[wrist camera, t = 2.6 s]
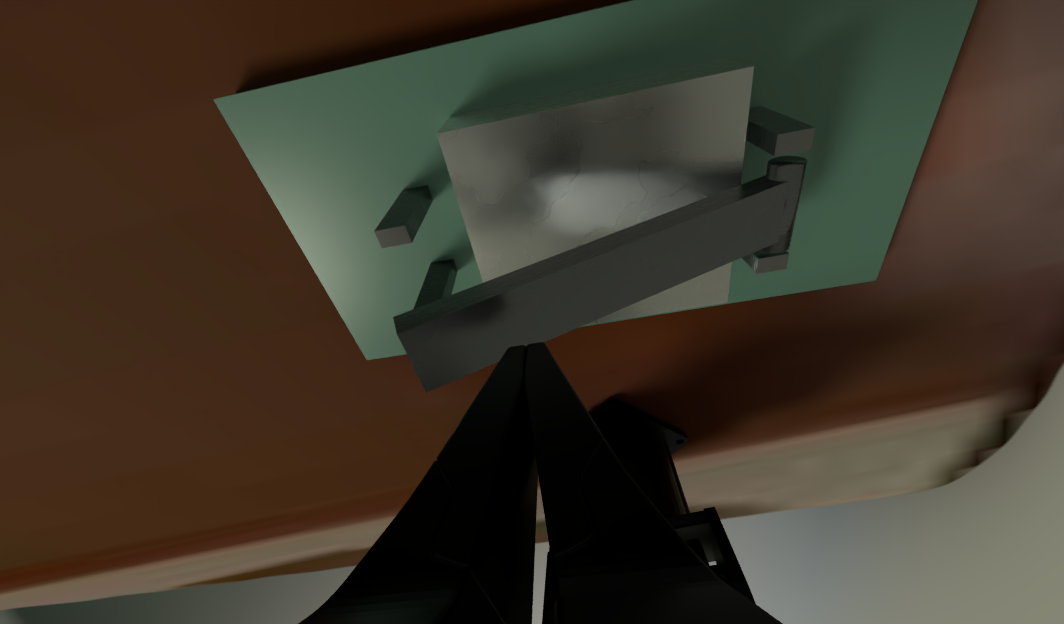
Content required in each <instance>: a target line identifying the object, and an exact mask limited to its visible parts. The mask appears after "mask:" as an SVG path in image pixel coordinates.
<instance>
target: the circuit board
mask: <svg viewBox="0 0 1064 624" xmlns="http://www.w3.org/2000/svg"><path fill="white" fill-rule="evenodd" d="M977 2H978V0H629V1H625V2H621V3H616V4H612V5H608V6H604V7H599V8H595V9H591V10H587V11H582V12H578V13H574V14H570V15H565V16H561V17H557V18H553V19H549V20H544V21H540V22H536V23H532V24H527V25H523V26H519V27H515V28H510V29H506V30H502V31H498V32H493V33H489V34H485V35H481V36H477V37H472V38H468V39H464V40H460V41H455V42H451V43H447V44H443V45H438V46H434V47H430V48H426V49H421V50H417V51H413V52H409V53H405V54H400V55H396V56H392V57H388V58H383V59H379V60H375V61H371V62H366V63H362V64H358V65H354V66H349V67H345V68H341V69H337V70H332V71H328V72H324V73H320V74H316V75H311V76H307V77H303V78H299V79H294V80H290V81H286V82H282V83H277V84H273V85H269V86H265V87H260V88H256V89H252V90H248V91H244V92H239V93H235V94H231V95H228V96H224V97H221V98H217V99H213V100H214V102H215V103H216V105H217V107H218V108H219V110H220V112H221V113H222V115H223V117H224V118H225V120H226V122H227V124H228V125H229V127H230V129H231V130H232V132H233V134H234V135H235V137H236V139H237V141H238V142H239V144H240V146H241V147H242V149H243V151H244V152H245V154H246V156H247V157H248V159H249V161H250V163H251V164H252V166H253V168H254V169H255V171H256V173H257V174H258V176H259V178H260V180H261V181H262V183H263V185H264V186H265V188H266V190H267V191H268V193H269V195H270V196H271V198H272V200H273V202H274V203H275V205H276V207H277V208H278V210H279V212H280V213H281V215H282V217H283V219H284V220H285V222H286V224H287V225H288V227H289V229H290V230H291V232H292V234H293V235H294V237H295V239H296V241H297V242H298V244H299V246H300V247H301V249H302V251H303V252H304V254H305V256H306V258H307V259H308V261H309V263H310V264H311V266H312V268H313V269H314V271H315V273H316V274H317V276H318V278H319V280H320V281H321V283H322V285H323V286H324V288H325V290H326V291H327V293H328V295H329V297H330V298H331V300H332V302H333V303H334V305H335V307H336V308H337V310H338V312H339V314H340V315H341V317H342V319H343V320H344V322H345V324H346V325H347V327H348V329H349V330H350V332H351V334H352V336H353V337H354V339H355V341H356V342H357V344H358V346H359V347H360V349H361V351H362V353H363V354H364V356H365V358H366V359H367V360H371V359H378V358H384V357H390V356H397V355H403V354H407V353H406V351H405V349H404V347H403V345H402V343H401V341H400V339H399V337H398V336H397V333H396V328H395V324H394V319H393V317H395V316H397V315H400V314H402V313H405V312H408V311H410V310H413V309H414V306H415V303H416V301H417V298H418V295H419V293H420V290H421V287H422V285H423V282H424V280H425V277H426V274H427V272H428V269H429V266H430V264H431V263H433V262H438V261H444V260H450V259H454V262H455V264H456V267H457V270H458V272H457V276H456V279H455V283H454V287H453V291H452V294H455V293H457V292H460V291H463V290H465V289H468V288H471V287H473V286H476V285H478V284H481V283H483V281H482V278H481V274H480V271H479V268H478V265H477V262H476V258H475V255H474V252H473V249H472V246H471V242H470V239H469V236H468V233H467V230H466V226H465V223H464V220H463V217H462V213H461V210H460V207H459V204H458V201H457V197H456V194H455V191H454V188H453V185H452V181H451V178H450V175H449V172H448V169H447V165H446V162H445V159H444V156H443V152H442V149H441V146H440V143H439V140H438V136H437V133H438V131H439V130H440V129H441V127H442V126H443V124H444V123H445V122H446V120H447V119H448V118H449V117H451V116H455V115H460V114H465V113H469V112H474V111H478V110H483V109H488V108H492V107H497V106H502V105H506V104H511V103H515V102H520V101H525V100H529V99H534V98H538V97H543V96H548V95H552V94H557V93H562V92H566V91H571V90H575V89H580V88H585V87H589V86H594V85H598V84H603V83H608V82H612V81H617V80H621V79H626V78H631V77H635V76H640V75H645V74H649V73H654V72H658V71H663V70H668V69H672V68H677V67H681V66H686V65H691V64H695V63H700V62H705V61H709V60H714V59H718V58H722V59H726V60H730V61H734V62H739V63H743V64H747V65H751V66H754V71H753V80H752V89H751V97H750V106H749V108H754V107H759V106H763V107H765V108H768V109H770V110H773V111H775V112H778V113H780V114H783V115H785V116H788V117H791V118H793V119H796V120H798V121H801V122H803V123H806V124H808V125H811V126H813V127H815V132H814V137H813V142H812V147H811V150H806V151H801V152H796V153H791V154H785V155H780V156H799V157H803V158H805V159H807V165H806V170H805V175H804V180H803V185H802V190H801V195H800V199H799V204H798V209H797V214H796V219H795V224H794V229H793V234H792V239H791V244H790V248H789V249H788V250H787V252H788V253H789V259H788V264H787V268H786V269H784V270H778V271H772V272H765V273H759V274H756V273H755V272H754V271H753V270H752V269H751V268H750V267H749V265H748V264H747V263H746V262H745V261H744V260H743V259H742V258H740V259H737V260H735V261H733V262H732V266H731V275H730V284H729V293H728V301H727V303H722V304H716V305H723V304H729V303H735V302H742V301H748V300H755V299H761V298H767V297H774V296H780V295H787V294H793V293H799V292H806V291H812V290H819V289H825V288H831V287H838V286H844V285H850V284H857V283H863V282H870V281H876V279H877V277H878V274H879V271H880V268H881V266H882V263H883V260H884V257H885V255H886V252H887V249H888V246H889V244H890V241H891V238H892V235H893V233H894V230H895V227H896V224H897V222H898V219H899V216H900V213H901V211H902V208H903V205H904V202H905V200H906V197H907V194H908V191H909V189H910V186H911V183H912V180H913V178H914V175H915V172H916V169H917V167H918V164H919V161H920V158H921V156H922V153H923V150H924V147H925V145H926V142H927V139H928V136H929V134H930V131H931V128H932V125H933V123H934V120H935V117H936V114H937V112H938V109H939V106H940V103H941V101H942V98H943V95H944V92H945V90H946V87H947V84H948V81H949V79H950V76H951V73H952V70H953V68H954V65H955V62H956V59H957V57H958V54H959V51H960V48H961V46H962V43H963V40H964V37H965V35H966V32H967V29H968V26H969V24H970V21H971V18H972V15H973V13H974V10H975V7H976V4H977ZM780 156H775V157H780ZM775 157H774V156H772V155H771V154H769V153H767V152H766V151H764V150H762V149H760V148H759V147H757V146H755V145H754V144H752V143H750V142H748V141H747V140H746V142H745V151H744V160H743V168H742V177H741V184H743V183H746V182H749V181H751V180H754V179H757V178H759V177H762V176H764V175H766V171H767V164H768V161H769V160H770V159H772V158H775ZM425 185H428V187H429V190H430V193H431V195H432V198H433V201H432V203H431V206H430V208H429V210H428V212H427V214H426V216H425V218H424V220H423V222H422V224H421V226H420V228H419V230H418V232H417V234H416V236H415V238H414V240H413V242H412V243H409V244H403V245H398V246H393V247H387V248H381V245H380V243H379V241H378V239H377V237H376V235H375V232H374V231H375V229H376V228H377V226H378V225H379V223H380V222H381V220H382V219H383V218H384V216H385V215H386V213H387V212H388V210H389V209H390V207H391V206H392V205H393V203H394V202H395V200H396V199H397V197H398V196H399V194H400V193H401V192H402V190H405V189H410V188H415V187H420V186H425ZM716 305H709V306H703V307H696V308H690V309H684V310H691V309H697V308H704V307H710V306H716ZM684 310H677V311H671V312H665V313H672V312H678V311H684ZM665 313H658V314H652V315H659V314H665ZM652 315H645V316H639V317H633V318H640V317H646V316H652ZM633 318H626V319H620V320H627V319H633ZM620 320H614V321H620ZM614 321H607V322H601V323H608V322H614ZM601 323H594V324H588V325H583V326H589V325H595V324H601ZM581 327H582V326H581Z"/></svg>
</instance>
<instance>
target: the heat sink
mask: <svg viewBox="0 0 1064 624" xmlns="http://www.w3.org/2000/svg"><path fill="white" fill-rule="evenodd" d="M753 71H754V66H751V65H747V64H743V63H739V62H734V61H730V60H726V59H722V58H718V59H714V60H709V61H705V62H700V63H695V64H691V65H686V66H681V67H677V68H672V69H668V70H663V71H658V72H654V73H649V74H645V75H640V76H635V77H631V78H626V79H621V80H617V81H612V82H608V83H603V84H598V85H594V86H589V87H585V88H580V89H575V90H571V91H566V92H562V93H557V94H552V95H548V96H543V97H538V98H534V99H529V100H525V101H520V102H515V103H511V104H506V105H502V106H497V107H492V108H488V109H483V110H478V111H474V112H469V113H465V114H460V115H455V116H451V117H449V118H448V119H447V120H446V122H445V123H444V124H443V126H442V127H441V129H440V130H439V131H438V133H437V136H438V140H439V143H440V146H441V149H442V152H443V156H444V159H445V162H446V165H447V169H448V172H449V175H450V178H451V181H452V185H453V188H454V191H455V194H456V197H457V201H458V204H459V207H460V210H461V213H462V217H463V220H464V223H465V226H466V230H467V233H468V236H469V239H470V242H471V246H472V249H473V252H474V255H475V258H476V262H477V265H478V268H479V271H480V274H481V278H482V281H483V283H484V282H486V281H489V280H492V279H494V278H497V277H499V276H502V275H505V274H507V273H510V272H513V271H515V270H518V269H520V268H523V267H526V266H528V265H531V264H534V263H536V262H539V261H541V260H544V259H547V258H549V257H552V256H555V255H557V254H560V253H562V252H565V251H568V250H570V249H573V248H576V247H578V246H581V245H583V244H586V243H589V242H591V241H594V240H597V239H599V238H602V237H604V236H607V235H610V234H612V233H615V232H618V231H620V230H623V229H625V228H628V227H631V226H633V225H636V224H639V223H641V222H644V221H646V220H649V219H652V218H654V217H657V216H660V215H662V214H665V213H667V212H670V211H673V210H675V209H678V208H681V207H683V206H686V205H688V204H691V203H694V202H696V201H699V200H701V199H704V198H707V197H709V196H712V195H715V194H717V193H720V192H722V191H725V190H728V189H730V188H733V187H736V186H738V185H741V177H742V168H743V160H744V151H745V142H746V140H747V141H748V142H750V143H752V144H754V145H755V146H757V147H759V148H760V149H762V150H764V151H766V152H767V153H769V154H771V155H772V156H774V157H775V156H780V155H785V154H791V153H796V152H801V151H806V150H811V147H812V142H813V137H814V132H815V127H813V126H811V125H808V124H806V123H803V122H801V121H798V120H796V119H793V118H791V117H788V116H785V115H783V114H780V113H778V112H775V111H773V110H770V109H768V108H765V107H763V106H759V107H754V108H749V106H750V97H751V89H752V80H753ZM432 201H433V198H432V195H431V193H430V190H429V187H428V185H425V186H420V187H415V188H410V189H405V190H402V192H401V193H400V194H399V196H398V197H397V199H396V200H395V202H394V203H393V205H392V206H391V207H390V209H389V210H388V212H387V213H386V215H385V216H384V218H383V219H382V220H381V222H380V223H379V225H378V226H377V228H376V229H375V231H374V232H375V235H376V237H377V239H378V241H379V243H380V245H381V248H387V247H393V246H398V245H403V244H409V243H412V242H413V240H414V238H415V236H416V234H417V232H418V230H419V228H420V226H421V224H422V222H423V220H424V218H425V216H426V214H427V212H428V210H429V208H430V206H431V203H432ZM742 259H743V260H744V261H745V262H746V263H747V264H748V265H749V267H750V268H751V269H752V270H753V271H754V272H755V273H756V274H759V273H765V272H772V271H778V270H784V269H786V268H787V264H788V259H789V253H788V252H787V251H785V252H781V253H766V252H762V251H760V250H758V251H756V252H754V253H751V254H749V255H747V256H744V257H742ZM731 266H732V262H730V263H728V264H726V265H723V266H721V267H719V268H716V269H714V270H712V271H709V272H707V273H705V274H702V275H700V276H698V277H695V278H693V279H691V280H688V281H686V282H684V283H681V284H679V285H677V286H674V287H672V288H670V289H667V290H665V291H662V292H660V293H658V294H655V295H653V296H651V297H648V298H646V299H644V300H641V301H639V302H637V303H634V304H632V305H630V306H627V307H625V308H623V309H620V310H618V311H616V312H613V313H611V314H609V315H606V316H604V317H602V318H599V319H597V320H595V321H592V322H590V323H588V324H594V323H601V322H607V321H614V320H620V319H626V318H633V317H639V316H645V315H652V314H658V313H665V312H671V311H677V310H684V309H690V308H696V307H703V306H709V305H716V304H722V303H727V301H728V293H729V284H730V275H731ZM457 272H458V270H457V267H456V264H455V262H454V259H450V260H444V261H438V262H433V263H431V264H430V266H429V269H428V272H427V274H426V277H425V280H424V282H423V285H422V287H421V290H420V293H419V295H418V298H417V301H416V303H415V306H414V309H416V308H418V307H421V306H423V305H426V304H429V303H431V302H434V301H437V300H439V299H442V298H444V297H447V296H450V295H452V291H453V287H454V283H455V279H456V276H457ZM588 324H585V325H588Z"/></svg>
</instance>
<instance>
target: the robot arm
mask: <svg viewBox="0 0 1064 624" xmlns="http://www.w3.org/2000/svg"><path fill="white" fill-rule="evenodd" d="M612 407H613V408H612ZM687 442H688V439H687V436H686V434H685V433H684V432H682V431H680V430H678V429H676V428H674V427H672V426H670V425H668V424H666V423H664V422H662V421H660V420H658V419H656V418H654V417H652V416H650V415H648V414H646V413H644V412H642V411H640V410H638V409H636V408H634V407H632V406H629V405H627V404H625V403H623V402H621V401H619V400H617V399H611V400H608V401H607V402H605V403H604V404H603V405H602V406H601V407H600V408H598V409H597V410H596V411H595V412H594V413H593V414H592V415H590V414H589V413H588V411H587V409H586V408H585V406H584V405H583V403H582V402H581V400H580V398H579V397H578V395H577V394H576V392H575V390H574V389H573V387H572V386H571V384H570V383H569V381H568V379H567V378H566V376H565V375H564V373H563V372H562V370H561V368H560V367H559V365H558V364H557V362H556V360H555V359H554V357H553V356H552V354H551V353H550V351H549V349H548V348H547V346H546V345H545V343H543V342H538V343H532V344H528V345H527V347H526V346H525V345H519V346H512V347H509V348H508V349H507V350H506V352H505V353H504V355H503V356H502V358H501V360H500V361H499V363H498V364H497V366H496V367H495V369H494V370H493V372H492V373H491V375H490V377H489V378H488V380H487V381H486V383H485V384H484V386H483V387H482V389H481V390H480V392H479V394H478V395H477V397H476V398H475V400H474V401H473V403H472V404H471V406H470V407H469V409H468V410H467V412H466V414H465V415H464V417H463V418H462V420H461V421H460V423H459V424H458V426H457V427H456V429H455V431H454V432H453V434H452V435H451V437H450V438H449V440H448V441H447V443H446V444H445V446H444V448H443V449H442V451H441V452H440V454H439V455H438V457H437V460H438V461H434V463H433V464H432V466H431V467H430V469H429V470H428V472H427V473H426V475H425V476H424V478H423V479H422V481H421V482H420V484H419V485H418V487H417V488H416V490H415V491H414V493H413V494H412V495H411V497H410V498H409V500H408V501H407V502H406V504H405V505H404V506H403V508H402V509H401V510H400V511H399V513H398V514H397V515H396V517H395V518H394V519H393V521H392V522H391V523H390V525H389V526H388V527H387V528H386V530H385V531H384V532H383V533H382V535H381V536H380V537H379V538H378V540H377V541H376V542H375V543H374V545H373V546H372V547H371V549H370V550H369V551H368V552H367V554H366V555H365V556H364V557H363V559H362V560H361V561H360V562H359V564H358V565H357V566H356V567H355V569H354V570H353V571H352V573H351V574H350V575H349V576H348V578H347V579H346V580H345V581H344V583H343V584H342V585H341V586H340V587H339V588H338V590H337V591H336V592H335V593H334V594H333V595H332V596H331V597H330V598H329V599H328V600H327V601H326V602H325V603H324V604H323V605H322V606H321V607H320V608H319V609H317V610H316V611H315V612H314V613H312V614H311V615H310V616H309V617H307V618H306V619H304V620H303V621H301V622H300V623H299V624H532V605H533V581H534V556H535V532H536V507H537V483H538V476H539V482H540V489H541V495H542V501H543V508H544V514H545V520H546V527H547V533H548V540H549V546H550V548H549V552H548V554H547V567H546V580H545V592H544V606H543V619H542V624H782V623H781V622H780V621H778V620H776V619H775V618H774V617H773V616H771V615H769V614H768V613H767V612H766V611H764V610H763V609H761V608H760V607H759V606H757V605H756V604H755V601H754V598H753V596H752V593H751V591H750V588H749V586H748V584H747V581H746V579H745V577H744V574H743V572H742V570H741V567H740V565H739V563H738V560H737V558H736V555H735V553H734V551H733V549H732V546H731V544H730V542H729V539H728V537H727V535H726V533H725V530H724V528H723V525H722V523H721V521H720V518H719V516H718V514H717V511H716V509H715V507H710V508H705V509H704V511H699V512H694V513H690V511H689V508H688V505H687V502H686V499H685V496H684V493H683V490H682V487H681V484H680V481H679V478H678V475H677V471H676V468H675V465H674V462H673V459H672V456H671V454H672V453H674V452H675V451H677V450H678V449H679V448H681V447H682V446H684V445H685V444H686V443H687ZM712 561H716V564H717V565H712V566H709V563H708V562H712Z"/></svg>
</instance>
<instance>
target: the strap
mask: <svg viewBox="0 0 1064 624" xmlns="http://www.w3.org/2000/svg"><path fill="white" fill-rule="evenodd" d="M806 165H807V159H805V158H803V157H799V156H780V157H775V158H772V159H770V160H769V161H768V164H767V171H766V175H764V176H762V177H759V178H757V179H754V180H751V181H749V182H746V183H743V184H741V185H738V186H736V187H733V188H730V189H728V190H725V191H722V192H720V193H717V194H715V195H712V196H709V197H707V198H704V199H701V200H699V201H696V202H694V203H691V204H688V205H686V206H683V207H681V208H678V209H675V210H673V211H670V212H667V213H665V214H662V215H660V216H657V217H654V218H652V219H649V220H646V221H644V222H641V223H639V224H636V225H633V226H631V227H628V228H625V229H623V230H620V231H618V232H615V233H612V234H610V235H607V236H604V237H602V238H599V239H597V240H594V241H591V242H589V243H586V244H583V245H581V246H578V247H576V248H573V249H570V250H568V251H565V252H562V253H560V254H557V255H555V256H552V257H549V258H547V259H544V260H541V261H539V262H536V263H534V264H531V265H528V266H526V267H523V268H520V269H518V270H515V271H513V272H510V273H507V274H505V275H502V276H499V277H497V278H494V279H492V280H489V281H486V282H484V283H481V284H478V285H476V286H473V287H471V288H468V289H465V290H463V291H460V292H457V293H455V294H452V295H450V296H447V297H444V298H442V299H439V300H437V301H434V302H431V303H429V304H426V305H423V306H421V307H418V308H416V309H413V310H410V311H408V312H405V313H402V314H400V315H397V316H395V317H393V319H394V324H395V328H396V333H397V336H398V337H399V339H400V341H401V343H402V345H403V347H404V349H405V351H406V353H407V355H408V357H409V359H410V361H411V363H412V365H413V367H414V369H415V371H416V373H417V375H418V377H419V379H420V381H421V383H422V385H423V387H424V389H425V391H426V392H429V391H431V390H433V389H436V388H438V387H440V386H443V385H445V384H447V383H450V382H452V381H454V380H457V379H459V378H461V377H464V376H466V375H468V374H471V373H473V372H475V371H478V370H480V369H482V368H485V367H487V366H490V365H492V364H494V363H497V362H499V361H500V360H501V358H502V356H503V355H504V353H505V352H506V350H507V349H508V348H509V347H512V346H519V345H525V346H526V347H527V345H528V344H532V343H538V342H546V341H548V340H550V339H553V338H555V337H557V336H560V335H562V334H564V333H567V332H569V331H571V330H574V329H576V328H578V327H581V326H583V325H585V324H588V323H590V322H592V321H595V320H597V319H599V318H602V317H604V316H606V315H609V314H611V313H613V312H616V311H618V310H620V309H623V308H625V307H627V306H630V305H632V304H634V303H637V302H639V301H641V300H644V299H646V298H648V297H651V296H653V295H655V294H658V293H660V292H662V291H665V290H667V289H670V288H672V287H674V286H677V285H679V284H681V283H684V282H686V281H688V280H691V279H693V278H695V277H698V276H700V275H702V274H705V273H707V272H709V271H712V270H714V269H716V268H719V267H721V266H723V265H726V264H728V263H730V262H733V261H735V260H737V259H740V258H742V257H744V256H747V255H749V254H751V253H754V252H756V251H758V250H760V251H762V252H766V253H781V252H785V251H787V250H788V249H789V248H790V244H791V239H792V234H793V229H794V224H795V219H796V214H797V209H798V204H799V199H800V195H801V190H802V185H803V180H804V175H805V170H806Z"/></svg>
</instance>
